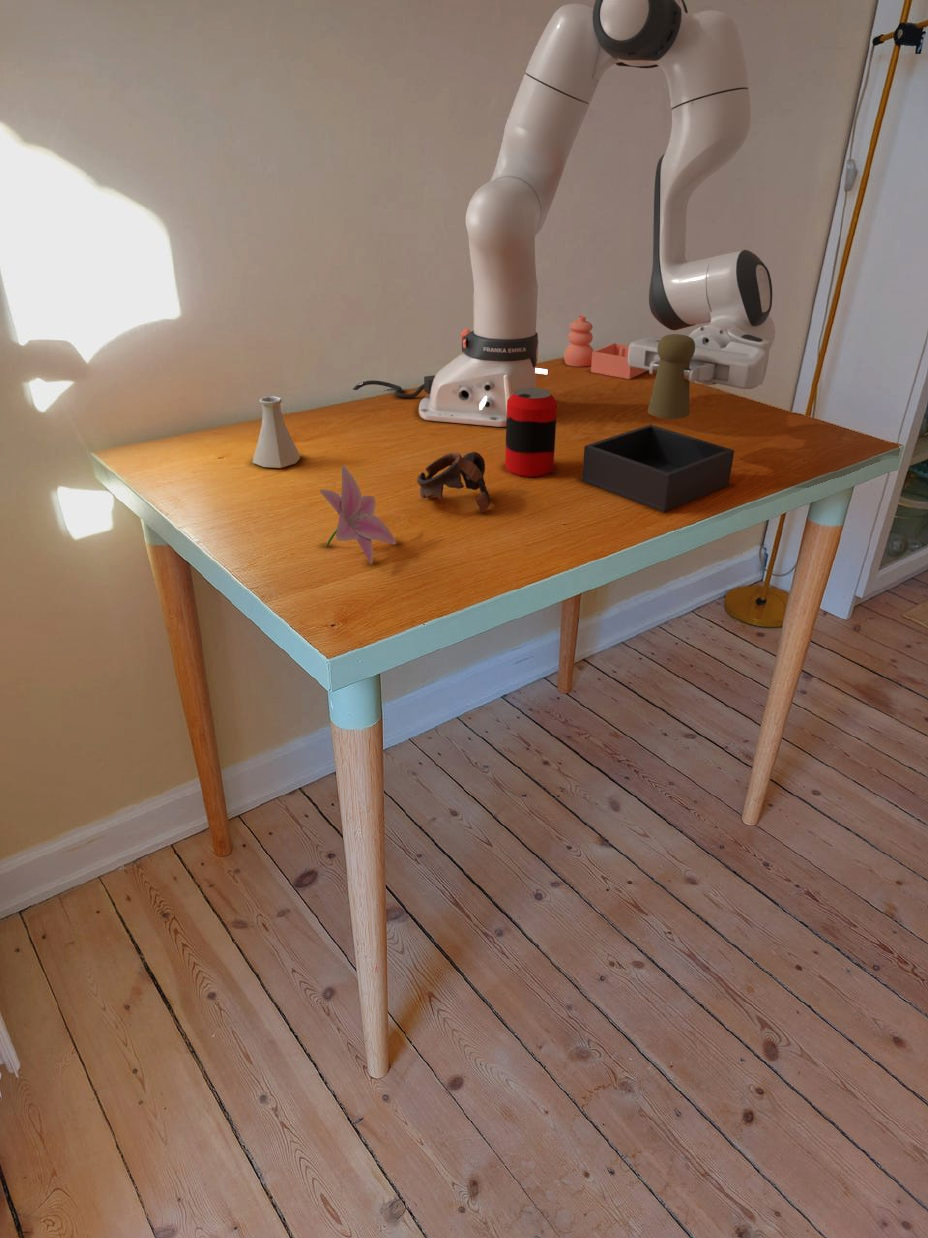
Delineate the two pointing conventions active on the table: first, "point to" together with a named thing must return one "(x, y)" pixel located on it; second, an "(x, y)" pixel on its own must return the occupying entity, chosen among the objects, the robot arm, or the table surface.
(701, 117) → the robot arm
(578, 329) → the pottery
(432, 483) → the broken clay pot
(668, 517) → the table surface
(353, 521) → the lily
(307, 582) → the table surface
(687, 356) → the cork
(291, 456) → the flask
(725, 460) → the open box
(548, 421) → the soda can
